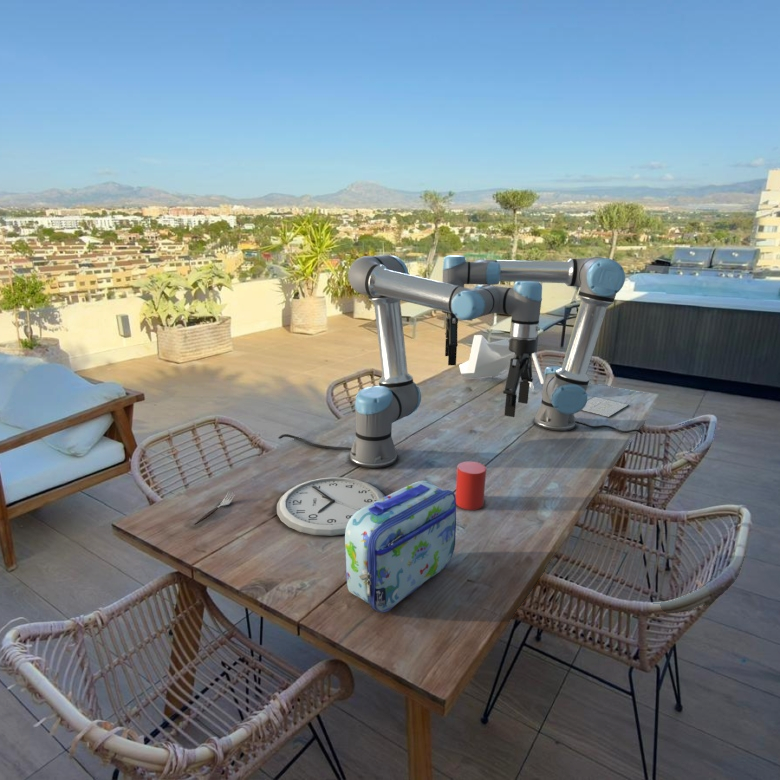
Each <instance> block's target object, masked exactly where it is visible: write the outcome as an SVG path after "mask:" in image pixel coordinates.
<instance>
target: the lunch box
mask: <svg viewBox="0 0 780 780" xmlns="http://www.w3.org/2000/svg"><path fill="white" fill-rule="evenodd" d="M456 531H457V504H456V493H454V492H453V490H450V489H442V488H440V487H439V486H437V485H435V484H433V483H432V482H430V481H428V480H418V481H416V482H413V483H410V484H409V485H406V486H405V487H402V488H400V489H398V490H396V491H394V492H392V493H390V494H388V495H385V497H384V498H382V499H380V500H378V501H376V502H374V503H372V504H370V505H368V506H366V507H364V508H362V509H360V510H358V511H357V512H355V513H354V514H353V515H352V517H351V518H350V520H349V522H348V524H347V527H346V531H345V534H344V552H345V577H346V578H345V580H346V586H347V589H348V592H349V593H350V594H352V595H354V596H356V597H357V598H359V599H361V600H363V602H365V603H367V604H368V605H370V607H371V608H372V609H373V610H375V611H376V612H378V613H380V614H382V613H383V614H385V613H387V612H389V611H391V609H393V608H394V607H395V606H396V605H397V604H400V602H401V601H402V600H404V599H406V597H409V596H410V595H411V594H412V593H414V592H415V591H416V590H417V589H418V588H420V587H421V586H422V585H423V584H424V583H425V582H427V581H428V580H430V579H432V578H433V577H434V576H436V575H437V574H439V573H441V572H442V571H443V570H445V568H446V567H447V566H448V564H449V563H450V561H451V560H452V557H453V554H454V551H455V548H456V547H455V546H456Z"/></svg>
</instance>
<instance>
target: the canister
mask: <svg viewBox="0 0 780 780" xmlns="http://www.w3.org/2000/svg"><path fill="white" fill-rule="evenodd" d="M456 467H457V468H456V484H455V485H456V486H455V498H456V506H457V507H459V508H461V509H463V510H467V511H468V510H469V511H474V510H479V509H481V508H483V506H484V500H485V490H486V489H485V487H486V475H487V467H486V466H485V464H482V463H480V462H477V461H462V462H459V463H458V464H457V466H456Z"/></svg>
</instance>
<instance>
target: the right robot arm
mask: <svg viewBox="0 0 780 780" xmlns="http://www.w3.org/2000/svg"><path fill="white" fill-rule="evenodd" d="M517 281H535V282H539V283H541V284H542V283H544V284H546V283H547V284H565V285H566V286H567V287H577V288H579V289H578V290H579V291H578V294H577V296H578V298H579V300H580V305H579V307H578V311H577V314H576V318H575V321H574V324H573V328H572V331H571V334H570V338H569V341H568V345H567V349H566V351H565V356H564V358H563V362H562V366H558V365H557V366H556V365H555V366H554V365H553V366H547V367H545V369H544V373H543V376H544V382H543V386H542V394H541V402H540V405H539V407H538V410H537V411H536V413H535V416H534V424H535V425H536V426H537V427H539V428H542V429H544V430H549V431H556V432H567V431H572V430H574V429H575V428H576V424H578V425H581V426H584V427H587V428H590V429H591V428H592V429H600V428H607V429H611V430H613V431H616V432H618V433H622V434H628V433H629V434H630V433H634V432H637V433H639V434H640V435H643V434H644V433H643V432H642V431H641V430H640V429H636V428H635V429H629V430H622V429H619V428H616V427H614V426H611V425H607V424H602V425H601V424H600V425H590V424H587V423H585V422H581V421H579V420H578V421H577V420H576V418H575V417H576V416H575V414H577V413H579V412H581V411H583V410H582V409H583V408H584V407H585V405H586V403H587V401H588V394H587V389H588V387H589V382H590V377H589V376H588V370H589V367H590V365H591V360H592V357H593V354H594V351H595V347H596V344H597V341H598V338H599V334H600V331H601V328H602V325H603V322H604V319H605V315H606V312H607V308H608V307H609V306H612V304H614V303H615V298H616V295H617V294H618V293H619V292H620V291H621V290H622V289H623V287H624V285H625V282H626V273H625V270H624V268H623V266H622V265H621V264H620V263H619V262H617V261H616V260H614V259H612V258H609V257H608V258H606V257H601V256H593V257H592V256H591V257H585V258H569V260H567V261H562V260H561V261H560V260H559V261H557V260H555V261H554V260H551V261H550V260H507V259H505V260H504V259H496V260H495V259H484V258H479V259H476V260H475V261H467V260H466V256H465V255H446V256H444V257H443V264H442V282H443V283H447V284H452V285H456V286H460V287H465V285H490V286H496V285H499V283H500V282H508V283H510V282H511V283H515V282H517ZM441 312H442V313H443V314H446V317H445V325H446V326H445V333H444V335H445V345H444V346H445V347H444V348H445V349H444V357H448V358H447V365H448V366H457V352H458V351H457V350H458V346H459V344H458V326H459V324H458V323H459V318H458V317H456V315H455V314H453V313H449V312H445V311H441Z"/></svg>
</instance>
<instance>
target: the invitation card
mask: <svg viewBox="0 0 780 780" xmlns="http://www.w3.org/2000/svg"><path fill="white" fill-rule="evenodd" d="M628 406H629V404H627V403H623V402H618V401H614V400H609V399H605V398H601V397H596V396H593V397H592V398H590V399H587V403H586V405H585V407H584V408H583V409H582V410H581V411H584V412H587V413H593V414H596V415H600V416H604V417H608V418H609V417H611V416H613V415H614V414H616V413H617V412H619V411H621V410H623V409H624V408H626V407H628Z"/></svg>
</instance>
